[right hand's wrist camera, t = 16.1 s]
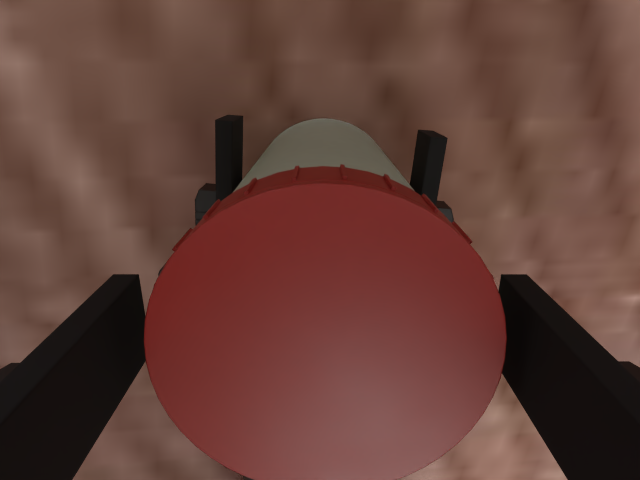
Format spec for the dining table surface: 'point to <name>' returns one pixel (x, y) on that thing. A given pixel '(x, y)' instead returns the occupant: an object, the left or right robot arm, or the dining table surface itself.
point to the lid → (325, 329)
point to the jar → (323, 151)
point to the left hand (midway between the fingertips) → (331, 126)
